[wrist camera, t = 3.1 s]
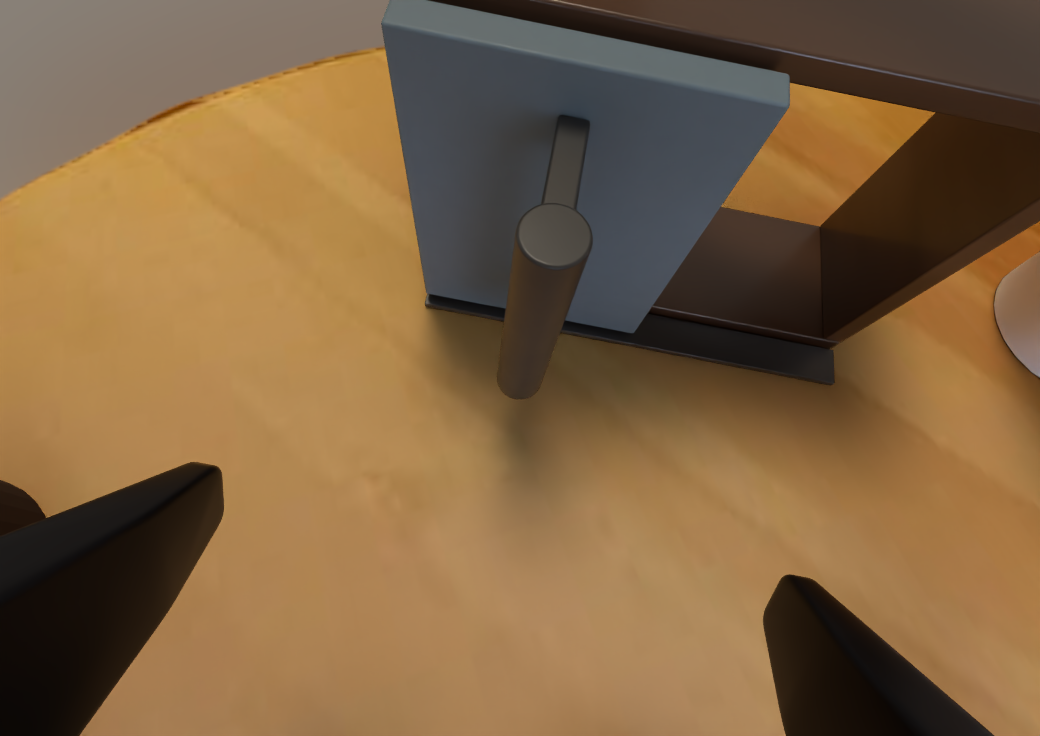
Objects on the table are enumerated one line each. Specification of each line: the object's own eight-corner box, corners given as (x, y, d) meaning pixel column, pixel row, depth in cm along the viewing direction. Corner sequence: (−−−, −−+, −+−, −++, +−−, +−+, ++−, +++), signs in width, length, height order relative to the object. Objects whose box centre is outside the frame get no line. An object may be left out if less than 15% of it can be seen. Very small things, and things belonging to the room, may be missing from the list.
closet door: (622, 438, 21) (792, 292, 10) (398, 395, 21) (312, 197, 10) (636, 313, 23) (791, 72, 12) (431, 273, 23) (391, -10, 12)
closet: (830, 385, 24) (1209, 192, 12) (425, 306, 23) (373, 23, 11) (825, 238, 26) (1127, -43, 14) (462, 166, 26) (453, -184, 14)
